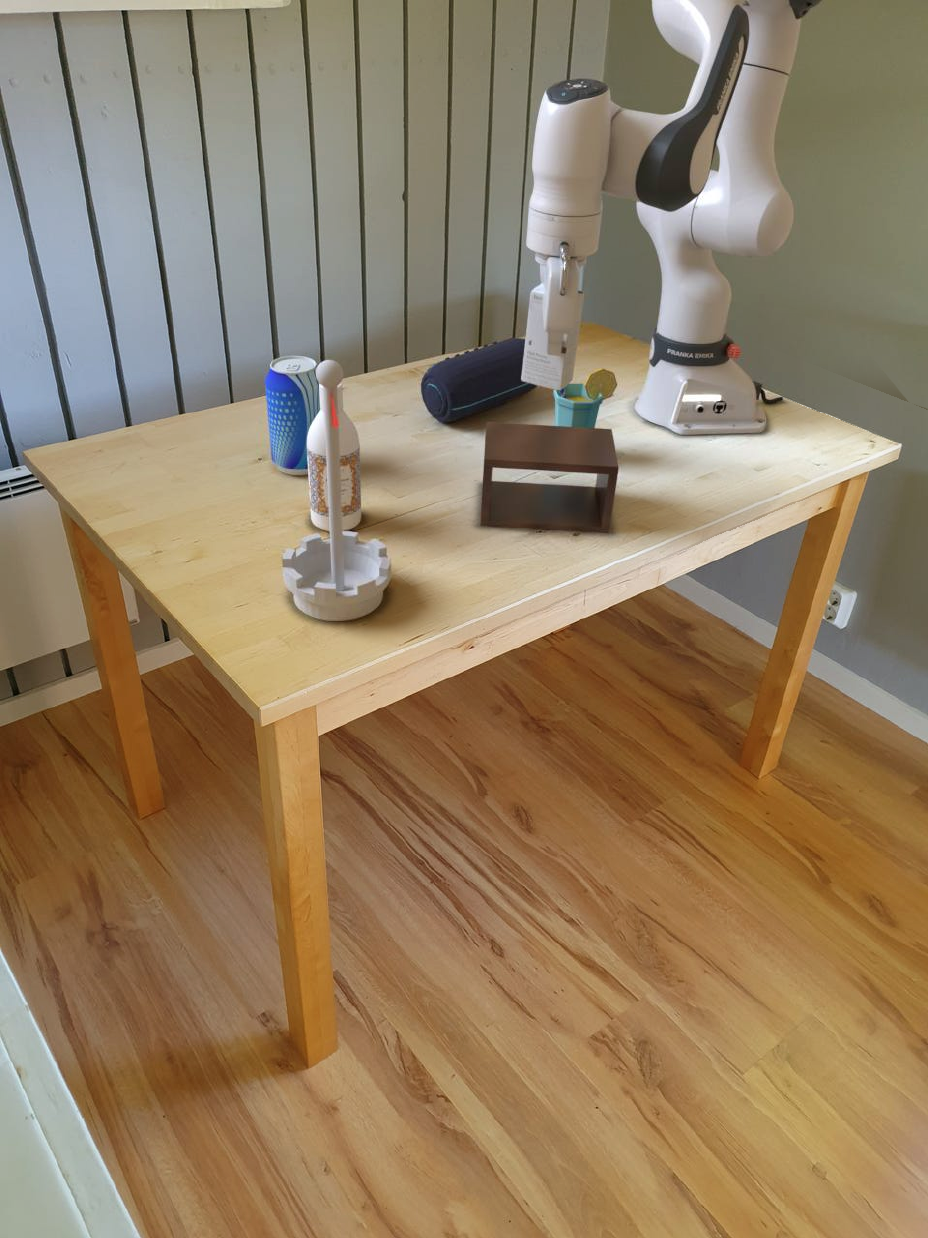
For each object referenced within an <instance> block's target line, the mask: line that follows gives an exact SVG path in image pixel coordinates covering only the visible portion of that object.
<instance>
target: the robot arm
mask: <svg viewBox="0 0 928 1238" xmlns="http://www.w3.org/2000/svg"><path fill="white" fill-rule="evenodd" d="M821 2H823V0H651V8H652V10H651V11H652V15H653V20H654V23H655V25H656V27H657V30H658V31H659V33H660V35H661V36H662V38H663V39H664V40H665V42H666V43H667V44H668V45H669V46H670V47H671V48H672V49H673V50H674V51H676V52H677V53H679V54H680V55H682V56H684V57H687V58H688V59H690V60H691V61H693V62H694V63H696V64H697V65H698V66H699V67H698V69H697V72H696V75H695V78H694V80H693V83H692V86H691V89H690V92H689V94H688V97H687V100H686V102H685V106H684V107H683V108H681V109H680V110H679V111H676V112H673V113H669V114H659V113H652V112H646V111H639V110H633V109H630V108H624V107H621V106H620V105H618V104H616V103H615V102H613V100H612V99H611V90H610V87H609V86H608V85H607V84H606V83H605V82H603V81H600V80H597V79H594V78H593V79H592V78H572V79H565V80H564V79H563V80H560V81H557V82H555V83H554V84H552V85H551V86H549V87H547V89H546V90H545V91H544V94H543V95H542V99H541V102H540V105H539V109H538V114H537V119H536V125H535V126H536V127H535V130H534V131H535V132H534V138H533V148H532V160H531V171H532V175H533V188H532V192H531V194H530V198H529V202H528V213H527V224H526V225H527V226H526V227H527V228H526V238H525V239H526V241H525V245H526V248H528V249H529V250H530V251H532V252H535V255H534V256H535V258H534V260H535V262H536V263H537V264H539V277H540V284H542V283H543V292H544V294H543V303H542V306H543V322H544V330H545V332H547V333H548V338H547V354H548V355H554V356H558V355H560V354H561V347H562V341H563V337H564V334H571V333H572V332H573V330H574V326H575V318H576V307H577V296H578V290H579V284H580V283H579V281H580V273H579V272H580V271H579V268H582V267H583V266H585V265H586V264H587V257H588V256H591V255H593V254H595V253H597V252H598V250H599V243H600V233H601V225H602V218H603V217H602V216H603V210H604V209H603V208H604V207H603V205H604V204H603V199H602V194H603V195H607V196H609V197H613V198H618V199H623V200H628V201H634V202H636V213H637V217H638V220H639V222H640V224H641V225H642V226H643V228H644V229H645V231H646V232H647V233H648V235H649V237H650V238H651V241H652V243H653V245H654V248H655V251H656V254H657V257H658V262H659V266H660V272H661V293H660V294H661V295H660V304H659V312H658V318H657V324H656V327H655V328H654V329H653V332H652V333H653V334H652V337H651V342H650V346H649V355H648V359H649V362H648V363H649V366H648V370H647V372H646V377H645V378H644V379H645V380H644V382H643V385H642V389H641V391H640V393H639V396H638V398H637V400H636V402H635V404H634V411H635V412H636V413H637V414H638V415H639V416H640V417H641V418H642V419H644V420H645V421H648V422H650V423H653V424H655V425H658V426H661V427H664V428H667V429H669V431H671V432H674V433H676V434H678V435H682V436H687V435H689V436H690V435H692V436H693V435H723V434H725V435H727V434H729V435H730V434H758V433H762V432H763V431H765V430H766V429H765V428H766V426H767V415H766V413H765V411H764V409H763V408H762V406H761V405H760V404H759V403H757V401H759V400H760V398H761V401H762V402H763V403H764V404H767V405H773V404H776V403H779V402H783V401H784V397H783V396H778V397H776V398H773V399H768V398H767V395H766V391H765V390H764V389H763V388H762V387H763V383H760V382H757V381H755V380H752V377H750V375H749V374H748V373H747V372H746V371H745V370H744V369H742V367H740V365H738V363H736V362H735V361H734V360H737V359H738V358H739V357H741V355H742V352H741V349H740V347H739V345H738V344H736V343H735V341H734V340H733V339H732V338H731V337H730V336H729V335H728V334H727V333H726V332H725V331H726V326H727V321H728V316H729V313H730V307H731V302H732V298H733V297H732V296H733V295H732V288H731V284H730V282H729V280H728V279H727V277H726V276H725V275H724V274H723V273H722V272H721V270H719V268H718V267H717V265H716V263H715V259H714V257H713V253H712V251H715V252H719V253H723V254H727V255H730V256H734V257H739V258H740V257H741V258H742V257H743V258H767V257H769V256H771V255H772V254H774V253H775V252H776V251H778V250H779V249H780V248H781V246H783V244H784V243H785V242H786V240H787V238H788V237H789V235H790V232H791V230H792V227H793V223H794V217H795V216H794V215H795V213H794V204H793V201H792V198H791V195H790V194H789V193H788V191H787V190H786V188H785V186H784V185H783V183H782V181H781V179H780V176H779V172H778V168H777V163H776V158H775V135H776V129H777V125H778V121H779V116H780V112H781V107H782V103H783V101H784V97H785V92H786V88H787V85H788V82H789V79H790V75H791V73H792V72H791V71H792V69H793V64H794V61H795V57H796V52H797V47H798V42H799V38H800V31H801V25H802V18H804V17H805V16H806V15H807V14H808V13H809V11H810V10H811V9H813V8H814V7H817V6H818V5H820V3H821ZM716 146H717V150H718V154H719V167H718V171H717V170H714V169H711V168H712V164H713V160H714V155H715V152H716V151H715V150H716ZM560 294H561V295H560ZM564 294H565V295H564ZM562 295H563V296H562Z"/></svg>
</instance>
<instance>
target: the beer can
mask: <svg viewBox="0 0 928 1238" xmlns="http://www.w3.org/2000/svg"><path fill="white" fill-rule="evenodd" d="M269 367H270V368H269V370H268V372H267V374H266V376H265V378H264V386H265V397H266V399H265V400H266V410H267V419H268V420H267V421H268V433H269V434H268V435H269V444H270V457H271V461H272V463H273V464H274V465H275V466H276V467H277V469H278V470H279V471H280V472H281V473H284V474H286V475H290V476H308V461H307V436H308V432H309V428H310V426H311V424H312V422H313V421H314V419H315V417H316V416H317V414H318V413H319V411H320V394H319V384H320V383H319V382H318V380H317V378H316V369H317V367H318V364H317V361H316V360H314V358H311V357H308V356H304V355H303V356H302V355H285V356H281V357H277V358H275V359H273V360H272V361H271V362H270V363H269Z"/></svg>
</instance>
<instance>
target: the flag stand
mask: <svg viewBox="0 0 928 1238" xmlns="http://www.w3.org/2000/svg"><path fill="white" fill-rule="evenodd" d="M343 369H344V368H343V367H342V366H341V364H340V363H339V362H338V361H336V360H333V359H325V360H322V361H321V362H320V363H319V364H317V369H316V378H317V380H318V382H319V383H320V384H321V385H322V386H323V397H324V419H325V441H326V462H327V484H328V506H329V528H330V531H329V538H327V539H326V538H325V539H322V536H321V535H320V533H319V532H316V533H312V534H309V535H306V536H304V537H302V538H300V547H298V548H296V549H294V548H291V547H287V549H286V550H285V551H284V552H283V555H282V557H281V558H282V559H281V563H282V575H283V583H284V585H285V587H286V588H287V589H288V590H289V591H290V593H291V594H293V602H294V604H295V606H296V607H297V609H299V611H301V612H302V613H303V614H305V615H307V616H309V617H311V618H315V619H317V620H323V621H328V622H343V621H350V620H355V619H359V618H362V617H364V616H367V615H369V614H371V613H372V612H374V611H375V610H376V609H377V608H378V607H379V606H380V605H381V602H382V601H383V598H384V597H383V596H384V590H385V589H386V588H387V587H388V585H389V583H390V581H391V578H392V557H389V556H388V548H387V546H386V545H385V544H384V543H383V542H382V541H381V540H379V539H377V538H373V539H371V540H369V541H368V542H366V541H362V540H359V532H356V531H350V530H346V531H343V530H342V503H341V476H340V449H339V422H338V395H337V386H338V385H339V384H340V383H342V382H343V379H344V370H343Z"/></svg>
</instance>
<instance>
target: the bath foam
mask: <svg viewBox="0 0 928 1238" xmlns="http://www.w3.org/2000/svg"><path fill="white" fill-rule="evenodd" d="M319 394H320V411H319V413H318V414H317V416H316V417H315V419H314V421H313V422H312V424H311V426H310V428H309V432H308V436H307V461H308V475H307V476H308V477H307V478H308V492H309V494H308V495H309V508H310V519H311V520H310V521H311V522H312V524H313V525H314V526H315V527H317V528H318V529H320V530H322V531H326V532H330V528H329V506H328V484H327V462H326V441H325V419H324V397H323V386H322V385H321V384H319ZM337 395H338V422H339V449H340V476H341V503H342V530H343V531H350V530H352V529H354V528H356V527H357V526H358V525H359V524H360V522H361V521H362V491H361V490H362V489H361V488H362V487H361V486H362V485H361V484H362V483H361V451H360V450H361V449H360V448H361V447H360V438H359V433H358V431H357V429H356V426H355V424H354V422H353V421H352V420H351V418H350V417H349V416H348V414H347V413H346V411H345V410H344V397H343V395H344V393H343V384H342V382H341V383H340V384H339V385H338V386H337Z"/></svg>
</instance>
